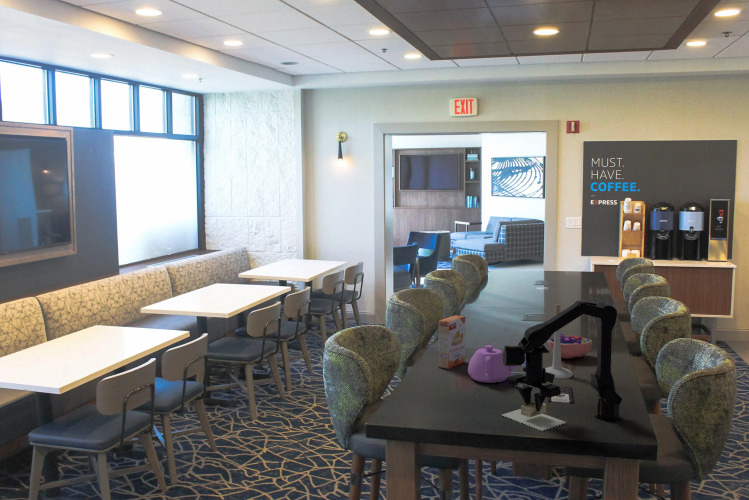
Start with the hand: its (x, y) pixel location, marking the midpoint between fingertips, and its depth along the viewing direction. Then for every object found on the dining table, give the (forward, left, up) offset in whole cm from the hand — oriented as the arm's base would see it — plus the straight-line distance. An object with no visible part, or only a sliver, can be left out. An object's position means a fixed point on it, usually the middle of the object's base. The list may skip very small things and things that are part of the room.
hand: (533, 409), depth 235 cm
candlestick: (+30, -47, -4) cm, 56 cm away
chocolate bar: (+12, -28, -4) cm, 30 cm away
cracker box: (+67, -22, -4) cm, 70 cm away
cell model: (+43, -71, -4) cm, 83 cm away
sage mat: (0, 0, -4) cm, 4 cm away
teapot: (+41, -22, -4) cm, 46 cm away
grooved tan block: (0, 0, -1) cm, 1 cm away
